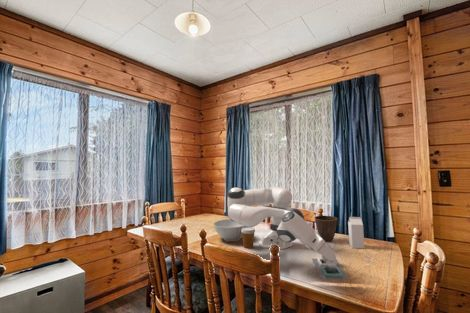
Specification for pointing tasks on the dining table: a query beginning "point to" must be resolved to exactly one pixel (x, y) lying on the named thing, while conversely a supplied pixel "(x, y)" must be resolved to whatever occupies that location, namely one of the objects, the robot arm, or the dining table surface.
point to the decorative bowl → (229, 229)
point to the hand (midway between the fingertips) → (331, 258)
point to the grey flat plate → (323, 273)
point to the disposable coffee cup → (248, 237)
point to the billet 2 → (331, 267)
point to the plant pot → (326, 227)
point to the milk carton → (356, 232)
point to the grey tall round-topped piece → (323, 260)
